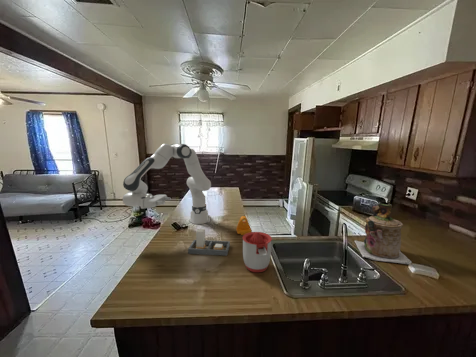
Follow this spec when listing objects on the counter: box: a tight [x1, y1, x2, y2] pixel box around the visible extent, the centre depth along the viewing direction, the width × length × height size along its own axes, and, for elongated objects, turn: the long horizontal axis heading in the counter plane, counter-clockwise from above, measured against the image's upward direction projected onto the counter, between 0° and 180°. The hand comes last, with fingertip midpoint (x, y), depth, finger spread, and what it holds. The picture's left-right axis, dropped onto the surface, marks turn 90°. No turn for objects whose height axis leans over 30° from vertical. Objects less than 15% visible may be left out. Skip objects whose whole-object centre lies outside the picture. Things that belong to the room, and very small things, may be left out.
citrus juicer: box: [242, 231, 273, 273], centre depth 114 cm, size 16×17×20 cm
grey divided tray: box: [187, 239, 231, 257], centre depth 135 cm, size 13×24×3 cm, turn 85°
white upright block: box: [195, 228, 207, 249], centre depth 135 cm, size 6×6×12 cm
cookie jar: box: [354, 203, 413, 266], centre depth 130 cm, size 25×25×32 cm
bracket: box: [235, 215, 253, 236], centre depth 161 cm, size 11×7×12 cm, turn 98°
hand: (167, 200), depth 140 cm, fingers open, 8 cm apart
